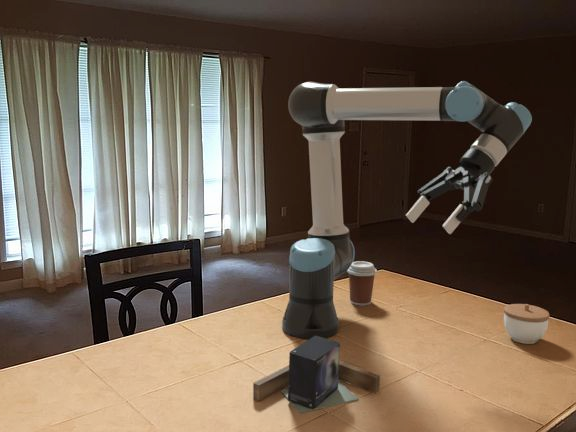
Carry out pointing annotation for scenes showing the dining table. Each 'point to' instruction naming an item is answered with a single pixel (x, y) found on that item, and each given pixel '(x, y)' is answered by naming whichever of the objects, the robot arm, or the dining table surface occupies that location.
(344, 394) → the pad
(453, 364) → the dining table surface
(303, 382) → the small box
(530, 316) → the lidded jar
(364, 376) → the walnut corner fence
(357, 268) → the coffee cup
